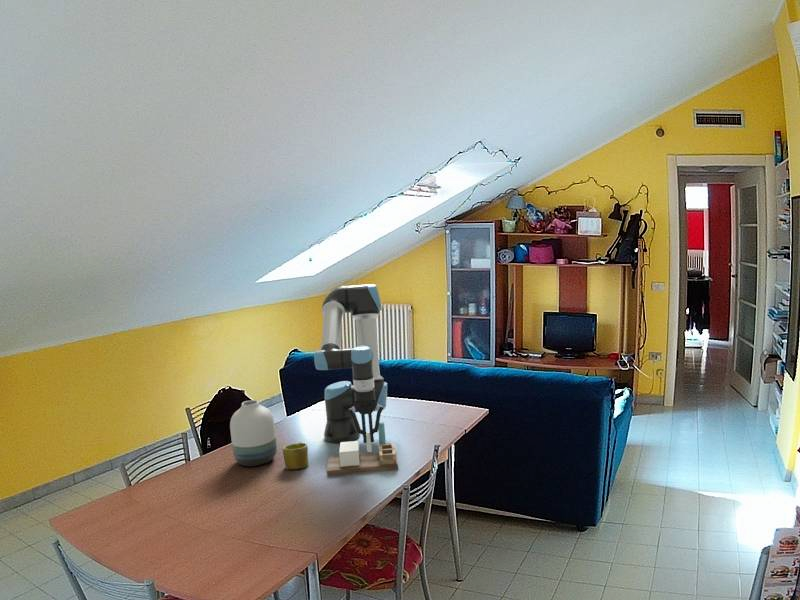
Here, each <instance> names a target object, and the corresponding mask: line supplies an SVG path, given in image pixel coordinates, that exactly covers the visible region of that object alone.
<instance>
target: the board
mask: <svg viewBox="0 0 800 600" xmlns="http://www.w3.org/2000/svg"><path fill="white" fill-rule="evenodd" d="M395 446H396V445H395V442H394V443H386V444H381V445H380V444H378V451H379V452H367V453H360V456H359V462H360V465H355V466H344V467H341V466H340V455H338V456H335V455H334V456H329V457H328V460H327V466H326V476H327V477H331V476H333V477H334V476H342V475H352V474H353V475H354V474H363V473H374V472H383V471H384V472H385V471H387V472H388V471H395V470H397V471H398V470H399V461H398V460H399V459H398V455H397V454H398V453H397V450H396V447H395Z"/></svg>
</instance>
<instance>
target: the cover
mask: <svg viewBox="0 0 800 600" xmlns="http://www.w3.org/2000/svg"><path fill="white" fill-rule="evenodd" d="M359 441H360V440H352V441H349V442H340V443H339V451H338V452H339V453H338V454H339V455H338V456H340V466H341V467H344V466H355V465H360V462H359V456H360V454H361V453H360V452H361V450H360V442H359Z"/></svg>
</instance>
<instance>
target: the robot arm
mask: <svg viewBox="0 0 800 600" xmlns="http://www.w3.org/2000/svg"><path fill="white" fill-rule="evenodd" d="M382 309H383V308H382V303H381V298H380V293H379V289H378V286H377V284H374V283H373V284H372V283H371V284H370V283H364V284H357V285H356V284H355V285H354V284H353V285H341V286H339V287H336V288H334V289H333V290H332V291H330V292H329V293H328V294H327V296H326V297H325V298H324V300H323V302H322V304H321V314H322V316H323V322H322V332H321V333H322V335H321V345H320V349H319V350H316V351H314V354H313V355H314V356H313V361H314V367H315V369H316V370H318V371H330V370H331V371H332V370H341V369H342V370H343V369H352V382H353V384H352V382H351V381H349V380H342V381H337V382H334V383H332V384H329V385H327V386H326V387H325V388H324V398H323V399H324V401H325V402H324V403H325V413H326V423H325V428H324V433H323V438H324V441H326V442H328V443H333V444H340V442H350V441H356V440H357V439H359V437H360V435H362V439H363V440H362V441H363V443H364V444H366V447H367V448H366V451H367V453H373V452H372V443H374V442H375V439H374V435H375V433H379V432H378V427H379V423H380V421H381V420H380V419H381V415H382V412H383V410H385V409H386V407H387V400H388V382H386V381H384V379H385V378H384V377H383V376H382V375H381V374H380V373H381V372H380V359H379V346H378V334H377V333H378V332H377V318H378V317H379V315H380V313H379V312H380V311H382ZM346 313H347V314H349V313H351V317H352V318H353V319H354V320H355V326H356V327H355V328H356V343H357V346H356V347H349V348H347V347H346V348H341V346H342V345H341V344H342V326H343V325H342V324H343V323H342V322H343V317H344V315H345V314H346ZM374 412H376V416H375V423H374V425H373V413H374ZM356 413H359V414H360V417H361V425H360V422H359V419H358V416H357V414H356ZM365 415H367V416H368V429H369V432H367V427H366V416H365ZM361 426H362V428H361ZM373 426H374V428H373Z"/></svg>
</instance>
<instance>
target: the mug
mask: <svg viewBox="0 0 800 600" xmlns="http://www.w3.org/2000/svg"><path fill="white" fill-rule="evenodd" d="M308 449H309V447H308V445H307V443H305V442H304V443H303V442H300V441H299V442H298V441H297V442H296V443H292V444H287V445H284V446H283V448H282V457H283V459H284V465H285V467H286V469H287V470H291V471H292V470H293V471H294V470H295V471H296V470H300V469H304V468H305V469H306V468H307V467H308V466H309V454H308Z"/></svg>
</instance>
